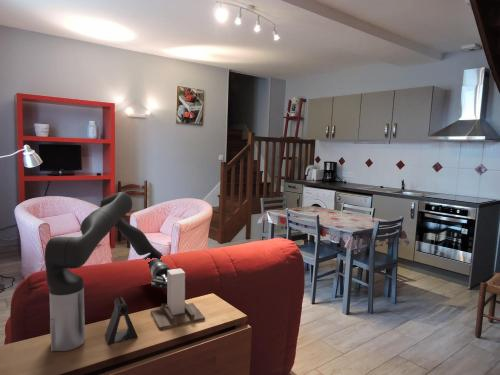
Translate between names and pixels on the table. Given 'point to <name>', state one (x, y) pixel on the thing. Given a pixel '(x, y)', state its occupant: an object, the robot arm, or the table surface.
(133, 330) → the phone stand
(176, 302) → the cream block
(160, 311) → the ridged brown base plate
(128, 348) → the table surface
